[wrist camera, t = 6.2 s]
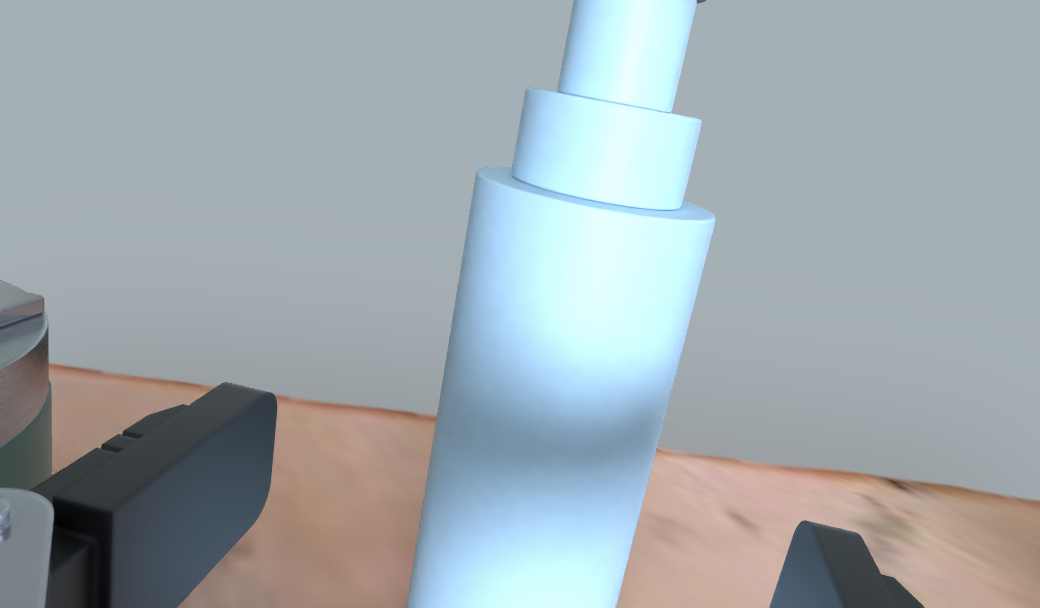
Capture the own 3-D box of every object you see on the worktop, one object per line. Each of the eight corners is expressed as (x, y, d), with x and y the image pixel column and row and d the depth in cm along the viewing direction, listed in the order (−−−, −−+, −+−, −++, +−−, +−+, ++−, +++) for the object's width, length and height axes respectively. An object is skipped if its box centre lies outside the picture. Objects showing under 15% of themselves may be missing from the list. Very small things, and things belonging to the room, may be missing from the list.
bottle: (596, 631, 23) (761, -26, 18) (583, 787, 18) (815, -85, 12) (428, 587, 24) (537, -63, 18) (367, 725, 18) (496, -134, 13)
